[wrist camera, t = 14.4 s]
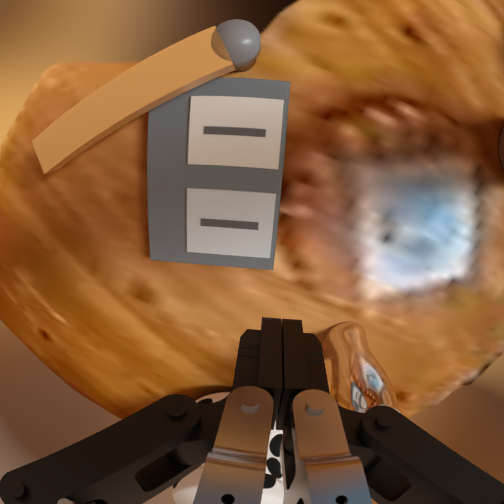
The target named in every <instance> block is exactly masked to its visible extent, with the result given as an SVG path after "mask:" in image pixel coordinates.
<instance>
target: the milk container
mask: <svg viewBox="0 0 504 504" xmlns="http://www.w3.org/2000/svg"><path fill="white" fill-rule="evenodd" d="M230 392H231V391H225V392H216V393H212V394H208V395H205V396H202V397H201V398H199V399H197V400H196V403H197V404H198V405H199V404H207V403H213V402H217V401H220V400H222V399H224V398H225V397H226V396H227V395H228V394H229V393H230ZM282 440H283V430H276V421H275V426H274V430H271V433H270V437H269V445H268V452H267V465H266V472H265V479H264V486H263V492H262V498H261V504H283V499H284V486H283V473H282V461H281V444H282ZM204 464H205V463H203V464H202V465H201V466H200V467H198V468H197V469H196V470H194V471H193V472H191V473H190V474H188V475H187V476H185V477H184V478H182V479H181V480H179V481H178V482H176V483H175V484H173V499H174V501H175V502H176V503H177V504H193V501H194V498H195V495H196V491H197V488H198V485H199V481H200V478H201V475H202V471H203V468H204Z"/></svg>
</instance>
